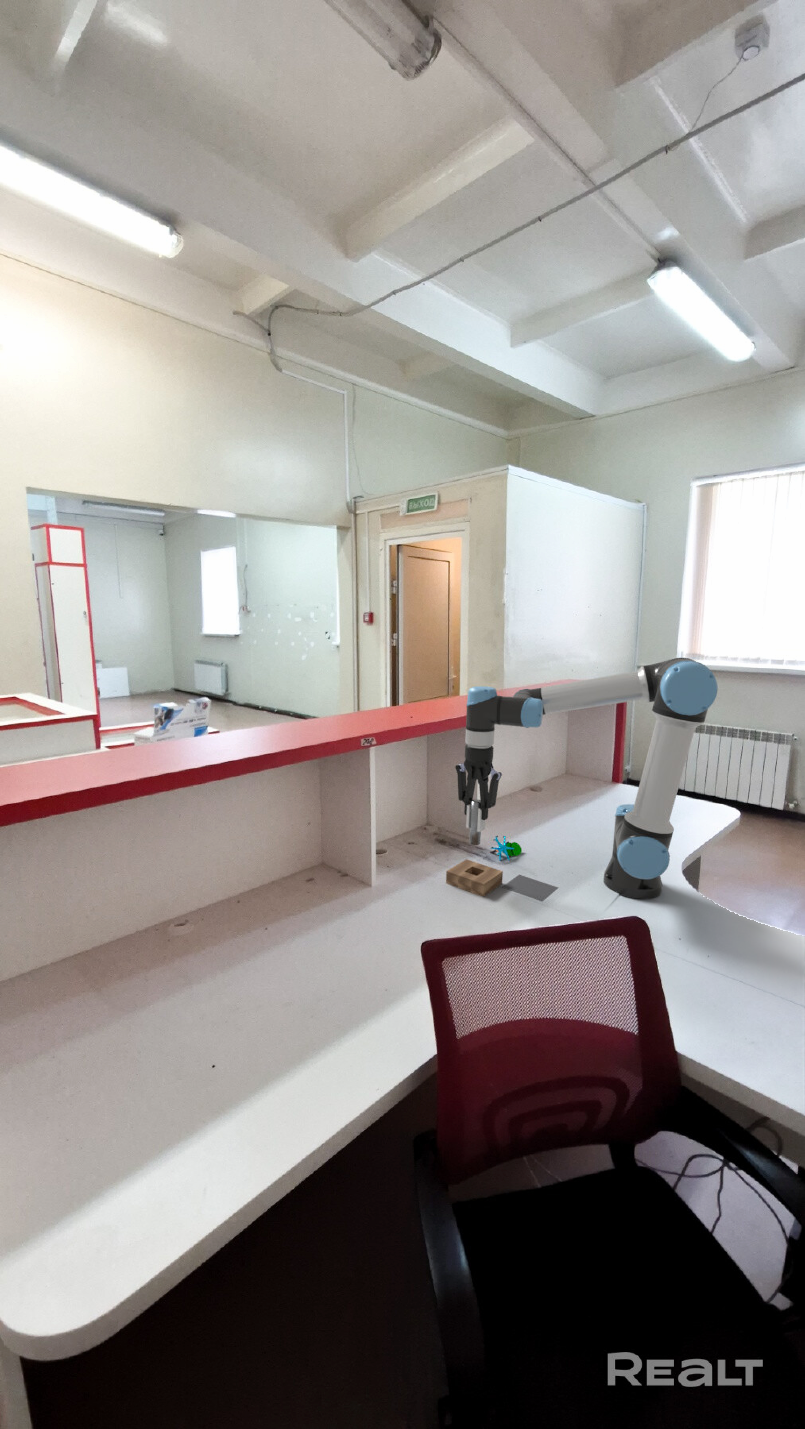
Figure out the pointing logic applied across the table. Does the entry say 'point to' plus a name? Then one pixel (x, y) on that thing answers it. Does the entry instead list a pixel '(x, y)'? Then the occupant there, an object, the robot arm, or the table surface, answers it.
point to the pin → (474, 823)
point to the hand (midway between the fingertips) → (475, 828)
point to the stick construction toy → (506, 848)
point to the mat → (530, 887)
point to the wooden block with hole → (474, 877)
